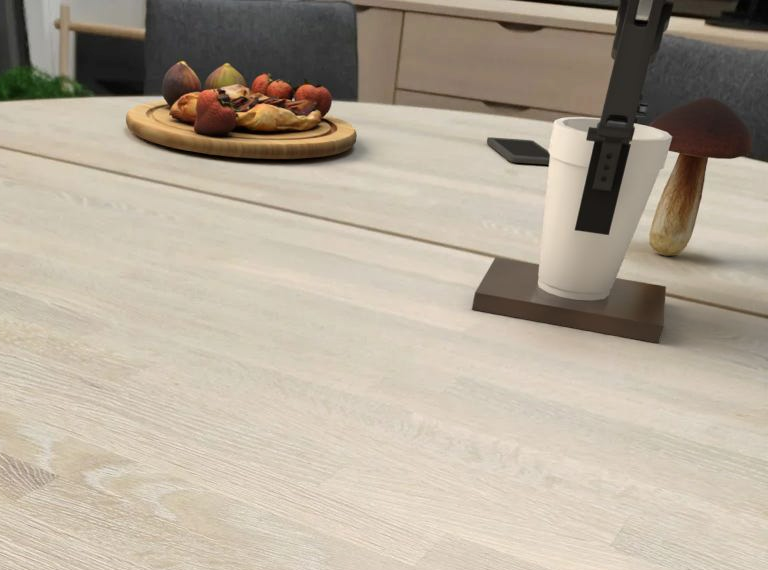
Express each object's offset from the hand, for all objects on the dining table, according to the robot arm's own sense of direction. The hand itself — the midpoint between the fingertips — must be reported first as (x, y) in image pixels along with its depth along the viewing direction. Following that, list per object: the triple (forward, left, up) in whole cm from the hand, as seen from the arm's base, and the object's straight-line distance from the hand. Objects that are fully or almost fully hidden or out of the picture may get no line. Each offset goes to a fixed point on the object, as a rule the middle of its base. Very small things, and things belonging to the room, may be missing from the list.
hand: (597, 213), depth 85 cm
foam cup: (0, 0, -7) cm, 7 cm away
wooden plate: (+50, -50, -8) cm, 71 cm away
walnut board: (0, 0, -8) cm, 8 cm away
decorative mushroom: (-8, -24, -8) cm, 26 cm away
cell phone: (+13, -68, -8) cm, 70 cm away
